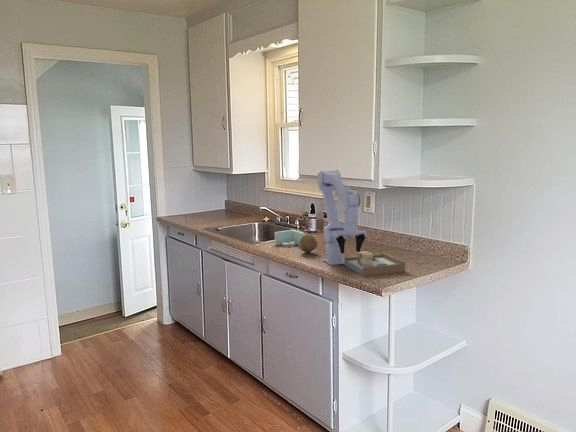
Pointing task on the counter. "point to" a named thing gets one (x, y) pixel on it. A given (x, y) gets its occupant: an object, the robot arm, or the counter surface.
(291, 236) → the l-shaped corner panel
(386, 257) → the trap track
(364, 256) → the wood block
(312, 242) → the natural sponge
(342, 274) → the counter surface
